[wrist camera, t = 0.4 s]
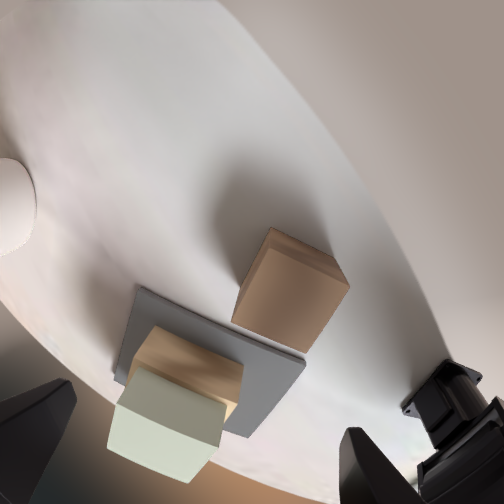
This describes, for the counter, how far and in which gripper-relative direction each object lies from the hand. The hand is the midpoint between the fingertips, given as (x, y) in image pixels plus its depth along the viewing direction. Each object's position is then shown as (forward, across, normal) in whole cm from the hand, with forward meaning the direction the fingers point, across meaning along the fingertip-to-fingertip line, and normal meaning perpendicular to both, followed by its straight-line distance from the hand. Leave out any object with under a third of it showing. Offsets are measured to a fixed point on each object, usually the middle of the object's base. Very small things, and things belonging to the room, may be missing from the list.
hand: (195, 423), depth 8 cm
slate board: (+12, +3, +8) cm, 15 cm away
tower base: (+12, +4, +8) cm, 15 cm away
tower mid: (+8, +4, +9) cm, 12 cm away
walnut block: (+12, -3, 0) cm, 13 cm away
